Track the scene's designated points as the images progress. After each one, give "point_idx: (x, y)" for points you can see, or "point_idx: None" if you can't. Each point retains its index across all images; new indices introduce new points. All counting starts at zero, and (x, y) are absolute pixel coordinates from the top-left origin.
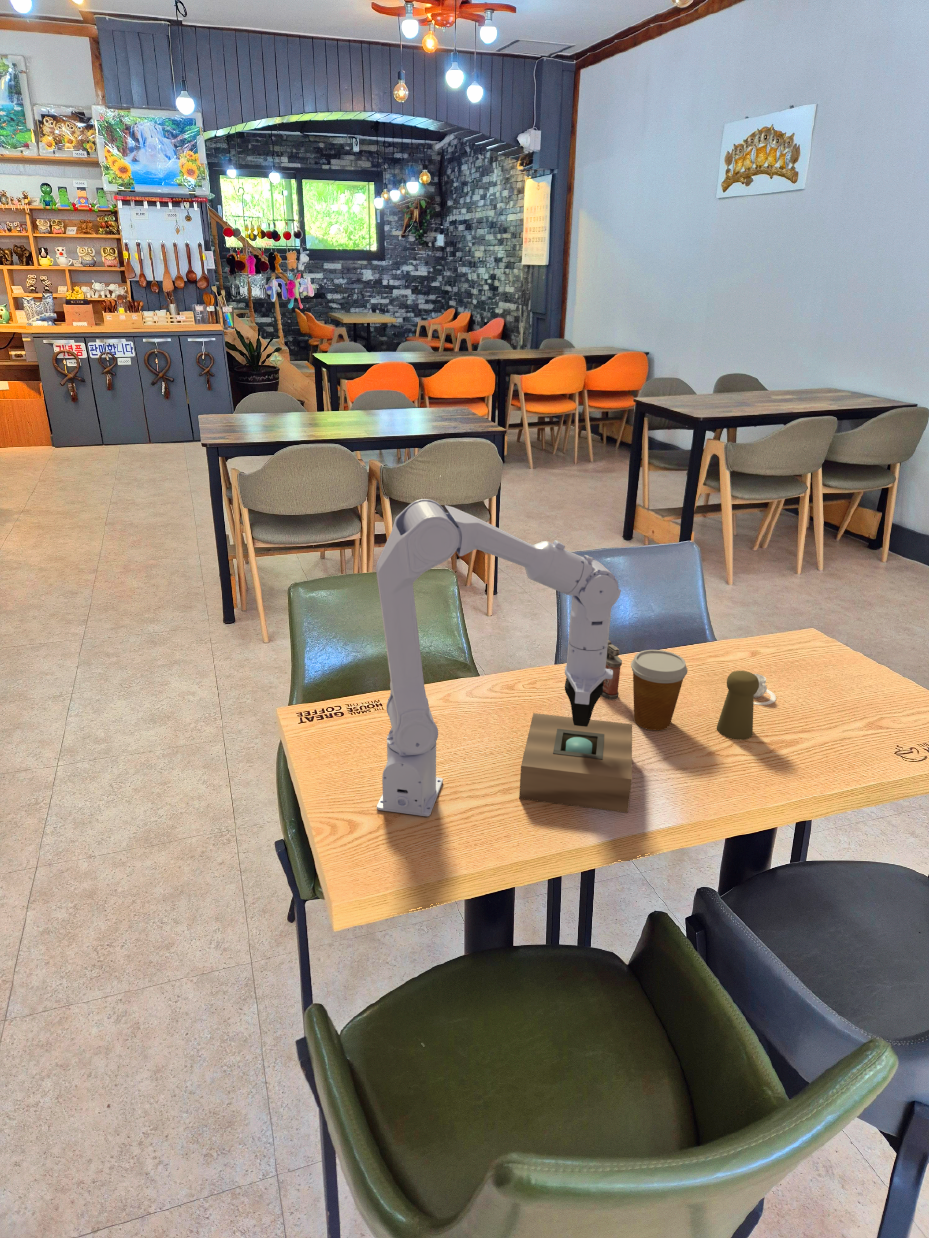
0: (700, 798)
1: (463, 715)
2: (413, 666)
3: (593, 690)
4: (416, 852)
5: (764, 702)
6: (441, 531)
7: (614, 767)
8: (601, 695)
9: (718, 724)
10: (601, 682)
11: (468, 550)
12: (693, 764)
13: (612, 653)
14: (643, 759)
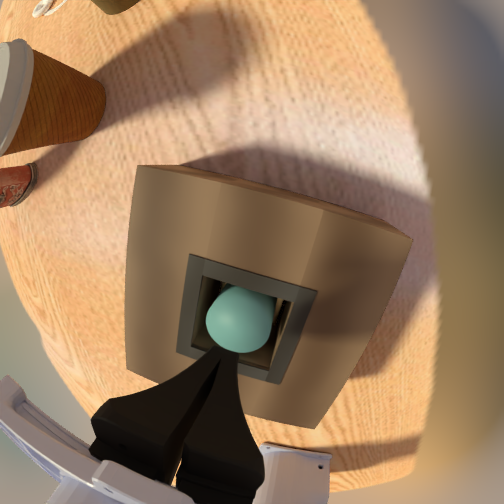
0: (339, 61)
1: (111, 387)
2: None
3: (233, 482)
4: (382, 455)
5: None
6: None
7: (356, 269)
8: (31, 189)
9: (112, 8)
10: (151, 446)
11: None
12: (216, 45)
13: None
14: (194, 136)
